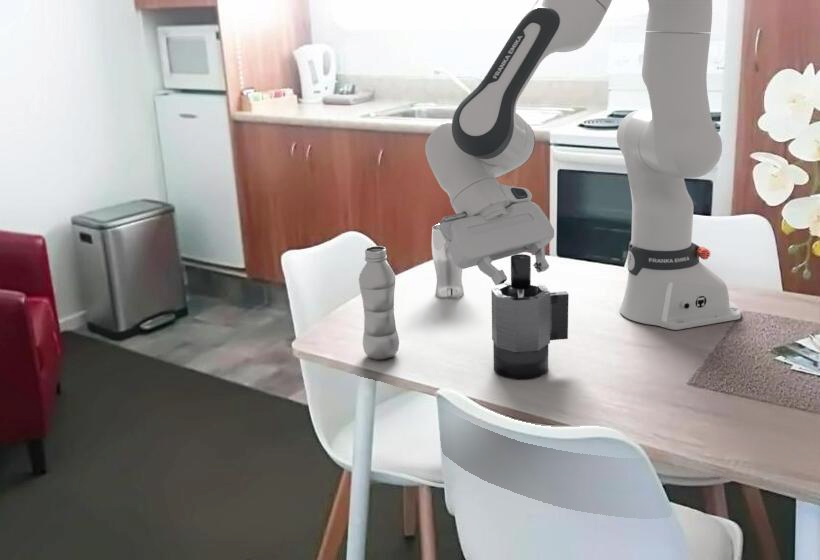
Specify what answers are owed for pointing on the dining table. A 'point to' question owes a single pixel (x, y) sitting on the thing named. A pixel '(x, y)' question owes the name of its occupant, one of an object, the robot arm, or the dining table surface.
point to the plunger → (520, 273)
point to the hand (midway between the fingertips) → (523, 276)
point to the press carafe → (526, 329)
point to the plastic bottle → (378, 305)
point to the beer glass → (445, 268)
